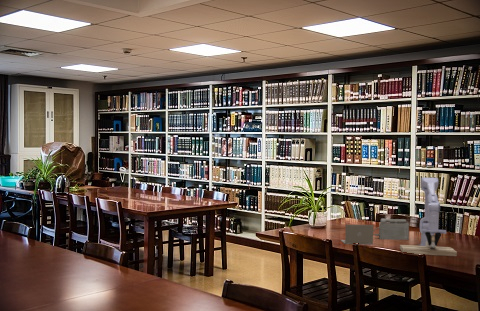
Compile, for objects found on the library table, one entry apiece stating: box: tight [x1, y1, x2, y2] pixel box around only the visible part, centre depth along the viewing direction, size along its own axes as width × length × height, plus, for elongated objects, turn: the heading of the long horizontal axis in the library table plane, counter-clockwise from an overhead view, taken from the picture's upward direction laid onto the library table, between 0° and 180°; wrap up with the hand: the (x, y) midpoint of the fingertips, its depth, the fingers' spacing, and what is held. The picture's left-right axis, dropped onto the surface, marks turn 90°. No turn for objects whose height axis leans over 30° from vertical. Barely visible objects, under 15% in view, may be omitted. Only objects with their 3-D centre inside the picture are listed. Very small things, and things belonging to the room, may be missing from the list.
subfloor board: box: [399, 244, 458, 257], centre depth 307 cm, size 13×30×3 cm, turn 82°
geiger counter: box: [373, 218, 410, 241], centre depth 347 cm, size 14×6×25 cm
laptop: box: [340, 224, 374, 245], centre depth 334 cm, size 18×12×13 cm
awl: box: [430, 234, 437, 249], centre depth 303 cm, size 3×3×8 cm
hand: (432, 245), depth 303 cm, fingers closed on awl, 3 cm apart
